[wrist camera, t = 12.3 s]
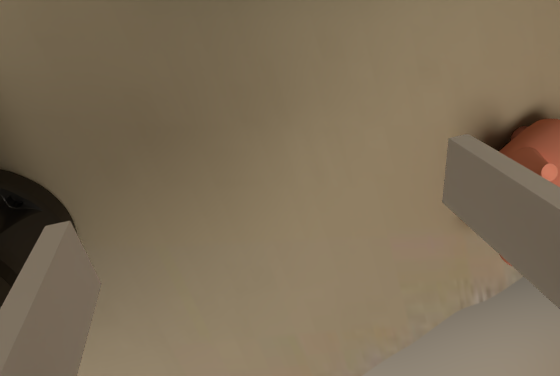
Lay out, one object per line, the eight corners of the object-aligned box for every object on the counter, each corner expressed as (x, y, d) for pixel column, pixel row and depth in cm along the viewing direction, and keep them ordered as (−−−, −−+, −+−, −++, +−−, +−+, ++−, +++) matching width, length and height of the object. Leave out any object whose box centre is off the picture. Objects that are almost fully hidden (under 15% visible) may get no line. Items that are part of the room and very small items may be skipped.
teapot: (462, 117, 43) (552, 169, 32) (596, 101, 45) (723, 145, 34) (441, 229, 50) (508, 301, 39) (556, 210, 52) (650, 275, 41)
